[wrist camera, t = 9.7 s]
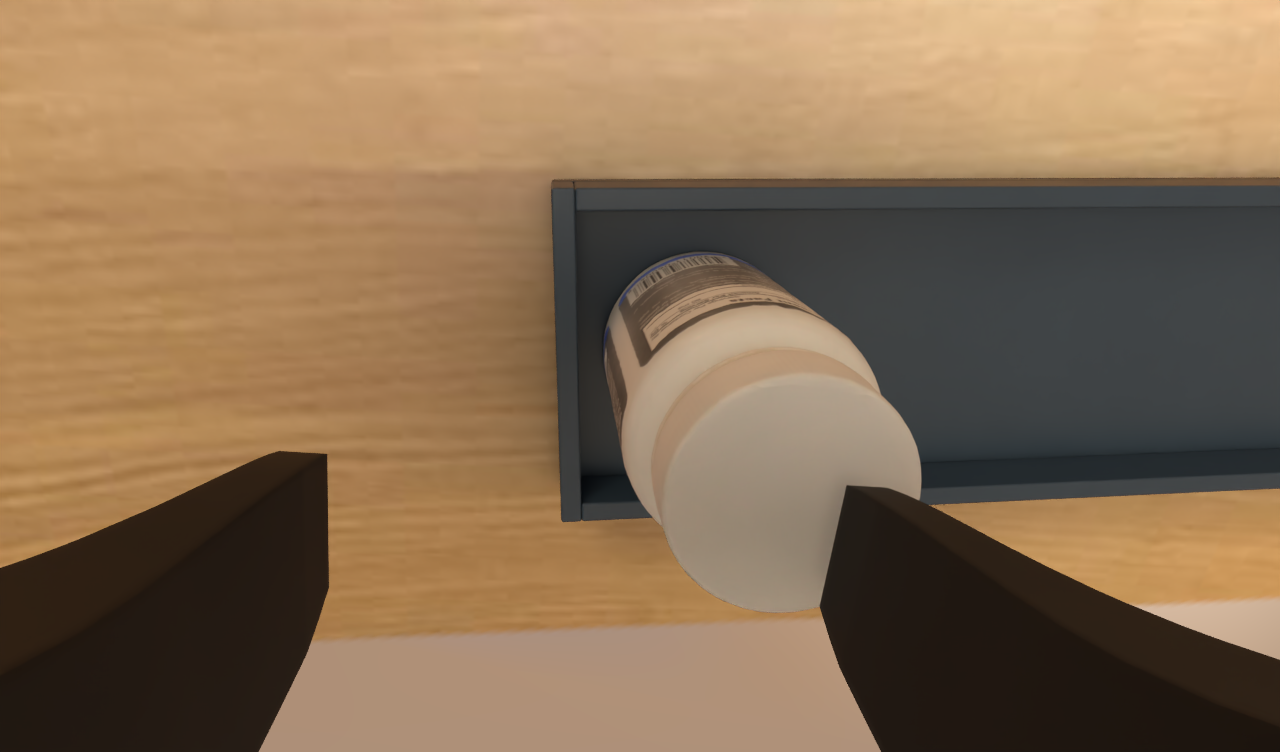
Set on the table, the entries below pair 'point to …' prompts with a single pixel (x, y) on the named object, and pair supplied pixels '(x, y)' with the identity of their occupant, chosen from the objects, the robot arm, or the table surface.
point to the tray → (971, 321)
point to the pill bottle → (746, 426)
